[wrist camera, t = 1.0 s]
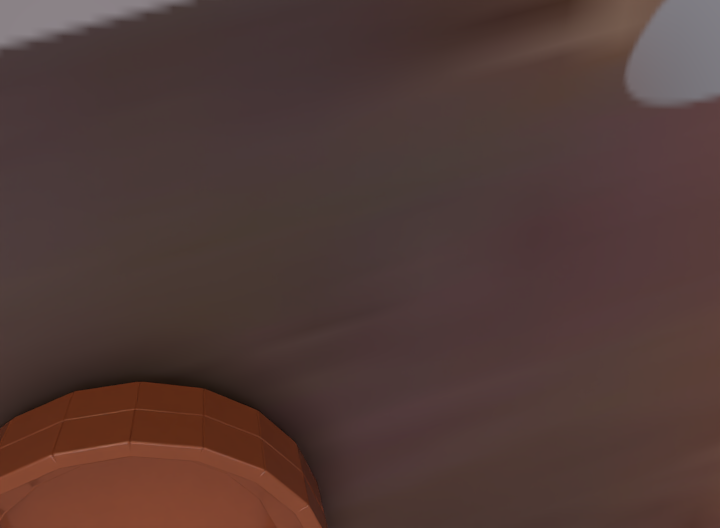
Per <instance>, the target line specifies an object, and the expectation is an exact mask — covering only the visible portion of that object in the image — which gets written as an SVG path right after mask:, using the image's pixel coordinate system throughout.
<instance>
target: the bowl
mask: <svg viewBox="0 0 720 528" xmlns="http://www.w3.org/2000/svg"><path fill="white" fill-rule="evenodd" d="M0 528H328V527H327V523H326V518H325V515H324V510H323V505H322V501H321V497H320V493H319V488H318V484H317V481H316V479H315V478H314V476H313V474H312V472H311V470H310V468H309V466H308V464H307V463H306V461H305V459H304V457H303V455H302V453H301V451H300V449H299V448H298V446H297V444H296V443H295V442H294V441H293V440H292V439H291V438H290V437H289V436H287V435H286V434H285V433H284V432H283V431H282V430H280V429H279V428H278V427H277V426H276V425H275V424H273V423H272V422H271V421H270V420H269V419H267V418H266V417H265V416H264V415H263V414H262V413H260V412H259V411H258V410H256V409H254V408H251V407H249V406H246V405H244V404H241V403H239V402H236V401H234V400H231V399H229V398H226V397H224V396H222V395H219V394H217V393H214V392H212V391H209V390H207V389H203V388H198V387H188V386H179V385H170V384H161V383H151V382H139V381H138V382H132V383H125V384H119V385H112V386H106V387H99V388H92V389H86V390H79V391H74V393H73V392H71V393H69V394H67V395H65V396H62V397H60V398H58V399H55V400H53V401H51V402H49V403H46V404H44V405H42V406H40V407H37V408H35V409H33V410H30V411H28V412H26V413H24V414H21V415H19V416H17V417H15V418H13V419H12V420H10V421H9V422H8V423H7V424H6V425H4V426H3V427H2V428H1V429H0Z"/></svg>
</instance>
